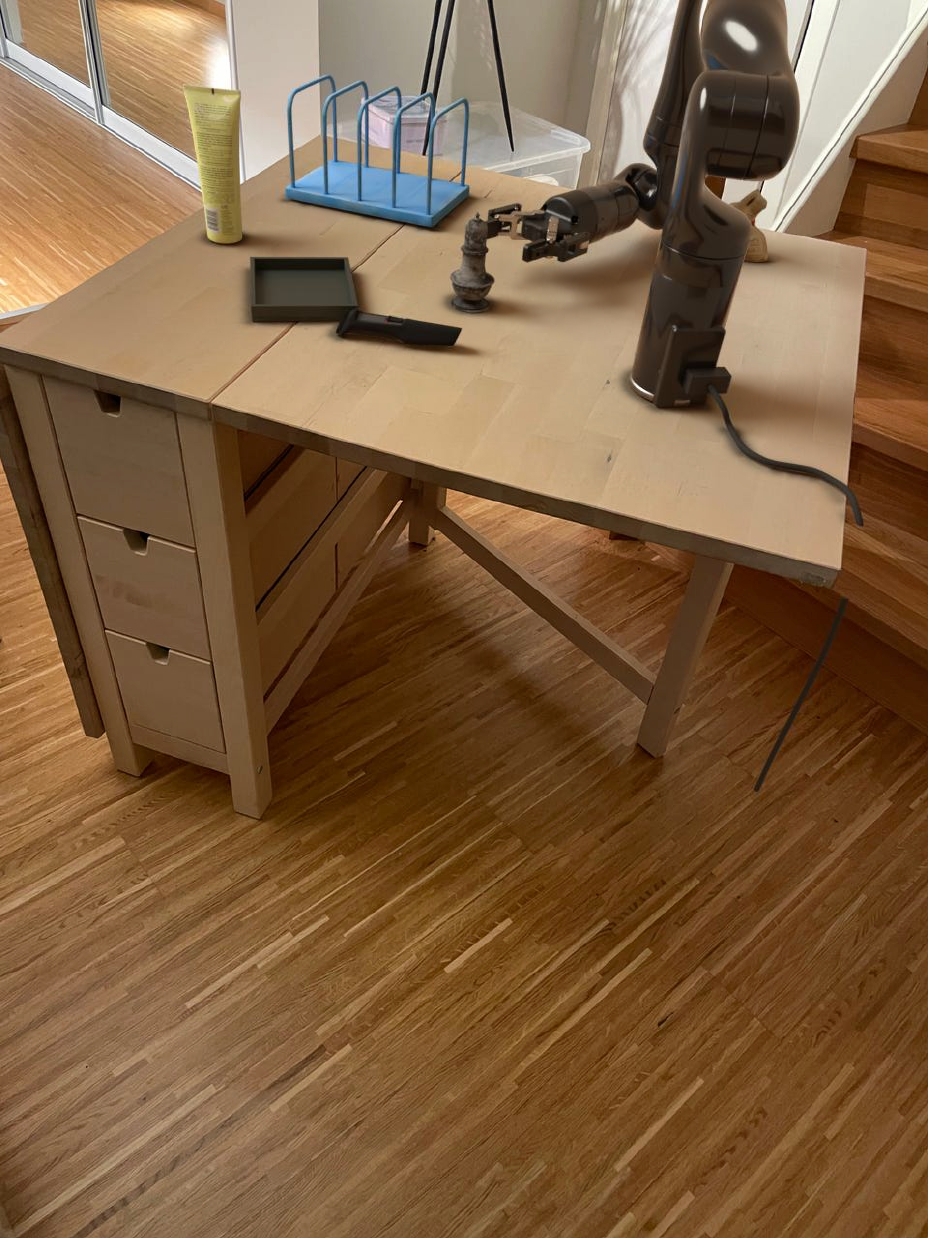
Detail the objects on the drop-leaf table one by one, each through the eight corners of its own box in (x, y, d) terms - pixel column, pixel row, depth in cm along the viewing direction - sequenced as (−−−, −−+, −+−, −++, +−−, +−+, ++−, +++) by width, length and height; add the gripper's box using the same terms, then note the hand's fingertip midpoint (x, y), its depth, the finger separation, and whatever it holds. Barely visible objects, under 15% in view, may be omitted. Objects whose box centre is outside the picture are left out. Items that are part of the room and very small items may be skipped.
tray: (358, 320, 117) (358, 305, 116) (252, 321, 115) (250, 306, 113) (348, 271, 128) (348, 256, 126) (251, 271, 125) (250, 256, 124)
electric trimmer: (457, 358, 112) (459, 334, 110) (334, 337, 113) (333, 313, 111) (462, 345, 115) (465, 320, 113) (342, 324, 116) (342, 300, 114)
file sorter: (469, 196, 153) (477, 93, 142) (432, 231, 141) (437, 121, 130) (332, 169, 158) (330, 67, 147) (284, 200, 146) (278, 91, 135)
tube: (235, 228, 136) (221, 79, 122) (253, 240, 133) (240, 89, 120) (200, 235, 133) (182, 83, 120) (217, 247, 130) (201, 93, 117)
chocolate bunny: (734, 242, 147) (752, 176, 140) (771, 260, 142) (791, 193, 135) (709, 247, 144) (727, 180, 137) (746, 266, 140) (766, 198, 133)
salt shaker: (441, 297, 124) (446, 205, 116) (480, 292, 126) (488, 201, 118) (459, 316, 120) (466, 222, 112) (499, 310, 122) (509, 218, 114)
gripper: (545, 175, 131) (464, 197, 122) (624, 206, 124) (544, 231, 115) (538, 229, 136) (460, 253, 127) (613, 261, 129) (537, 289, 120)
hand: (500, 243), depth 121 cm, fingers open, 8 cm apart
